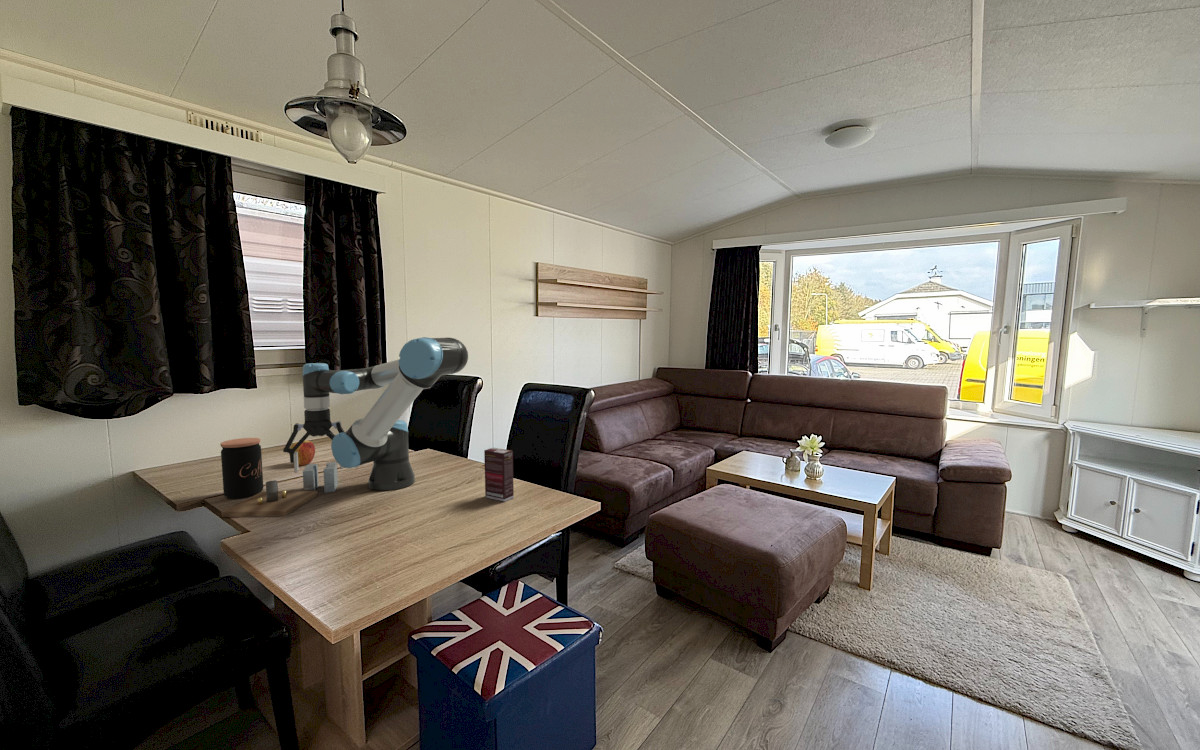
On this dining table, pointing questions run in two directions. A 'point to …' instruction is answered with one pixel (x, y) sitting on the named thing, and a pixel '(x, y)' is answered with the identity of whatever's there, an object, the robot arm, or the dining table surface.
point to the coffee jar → (241, 468)
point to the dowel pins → (260, 499)
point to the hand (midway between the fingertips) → (319, 469)
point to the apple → (305, 452)
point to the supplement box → (499, 474)
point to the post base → (270, 502)
